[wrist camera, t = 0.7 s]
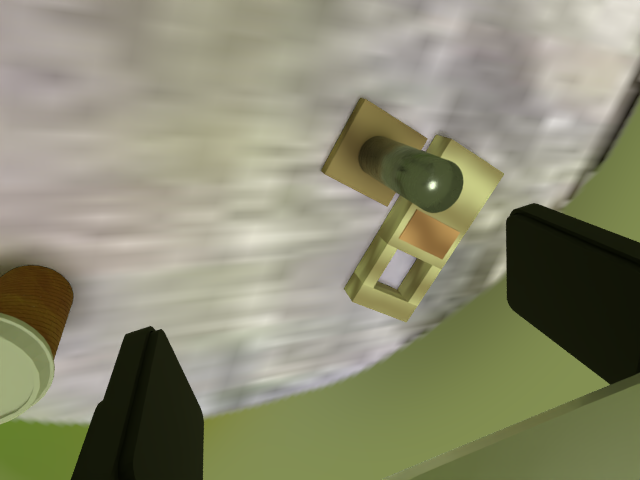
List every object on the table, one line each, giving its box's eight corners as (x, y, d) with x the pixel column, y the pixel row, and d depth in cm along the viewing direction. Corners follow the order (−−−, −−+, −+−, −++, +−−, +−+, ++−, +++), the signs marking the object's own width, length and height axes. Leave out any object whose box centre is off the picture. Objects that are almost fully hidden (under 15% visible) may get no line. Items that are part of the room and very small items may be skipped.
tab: (360, 98, 38) (365, 99, 37) (420, 136, 42) (427, 138, 40) (320, 170, 40) (324, 174, 39) (381, 202, 43) (387, 206, 42)
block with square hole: (436, 134, 42) (452, 139, 39) (486, 167, 45) (505, 174, 42) (344, 288, 46) (352, 302, 44) (395, 308, 50) (407, 323, 47)
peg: (371, 128, 38) (434, 150, 28) (402, 147, 40) (473, 174, 29) (351, 165, 39) (404, 199, 28) (382, 182, 41) (443, 221, 30)
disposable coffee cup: (113, 290, 40) (77, 371, 29) (48, 351, 40) (-10, 452, 30) (22, 228, 35) (-60, 296, 25) (-49, 298, 36) (-158, 393, 25)
